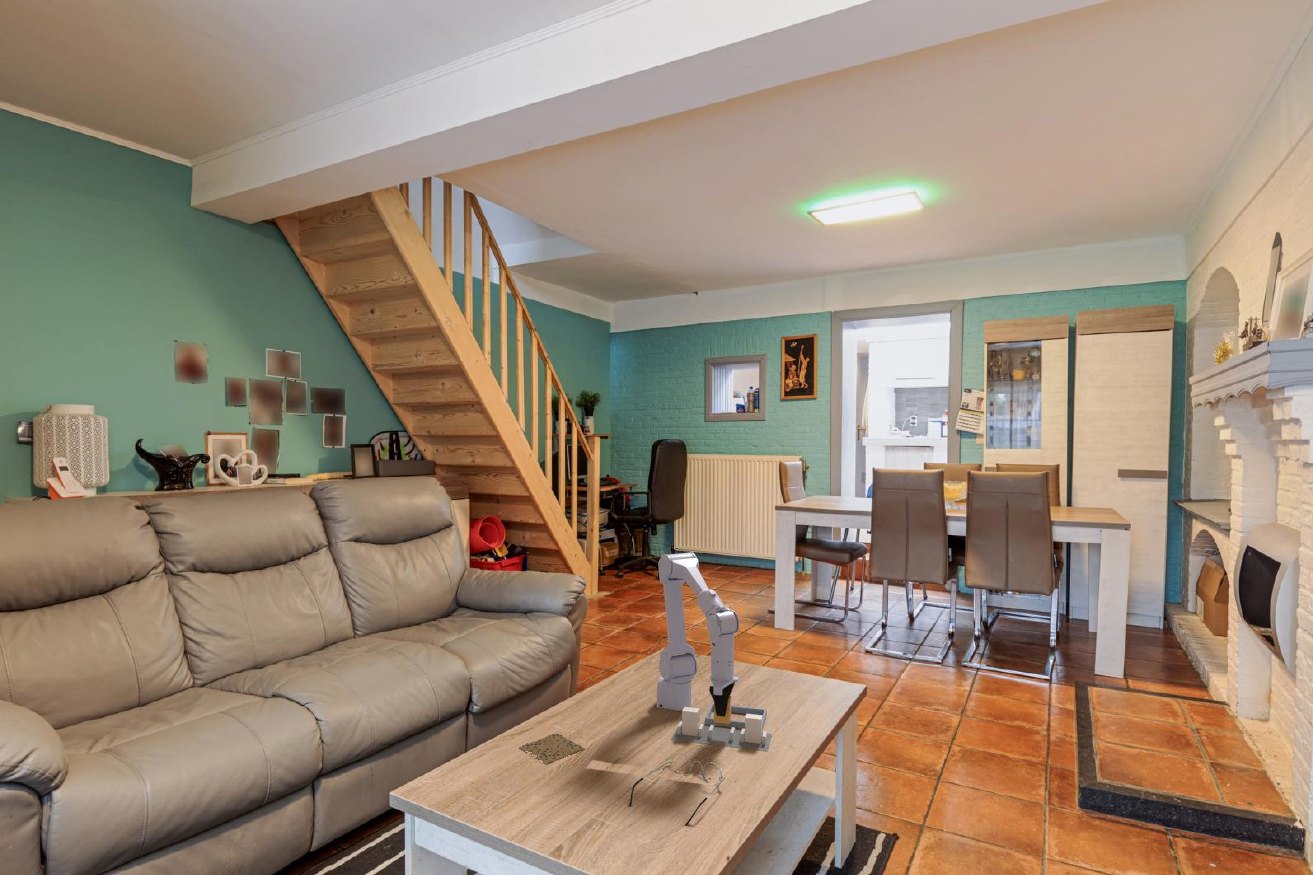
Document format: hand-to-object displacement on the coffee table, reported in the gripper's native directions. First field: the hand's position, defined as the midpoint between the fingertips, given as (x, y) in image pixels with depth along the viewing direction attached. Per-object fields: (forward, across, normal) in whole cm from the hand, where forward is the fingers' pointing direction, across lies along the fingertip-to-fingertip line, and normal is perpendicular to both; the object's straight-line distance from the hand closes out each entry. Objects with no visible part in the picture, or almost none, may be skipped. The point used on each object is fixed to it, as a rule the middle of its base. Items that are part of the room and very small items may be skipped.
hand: (722, 712), depth 174 cm
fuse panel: (+8, 0, 0) cm, 8 cm away
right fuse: (+6, 0, -8) cm, 10 cm away
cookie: (+8, -14, +40) cm, 43 cm away
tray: (+8, +12, -2) cm, 14 cm away
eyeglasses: (+8, -27, +5) cm, 29 cm away
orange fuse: (+2, 0, 0) cm, 2 cm away
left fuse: (+6, 0, +8) cm, 10 cm away
